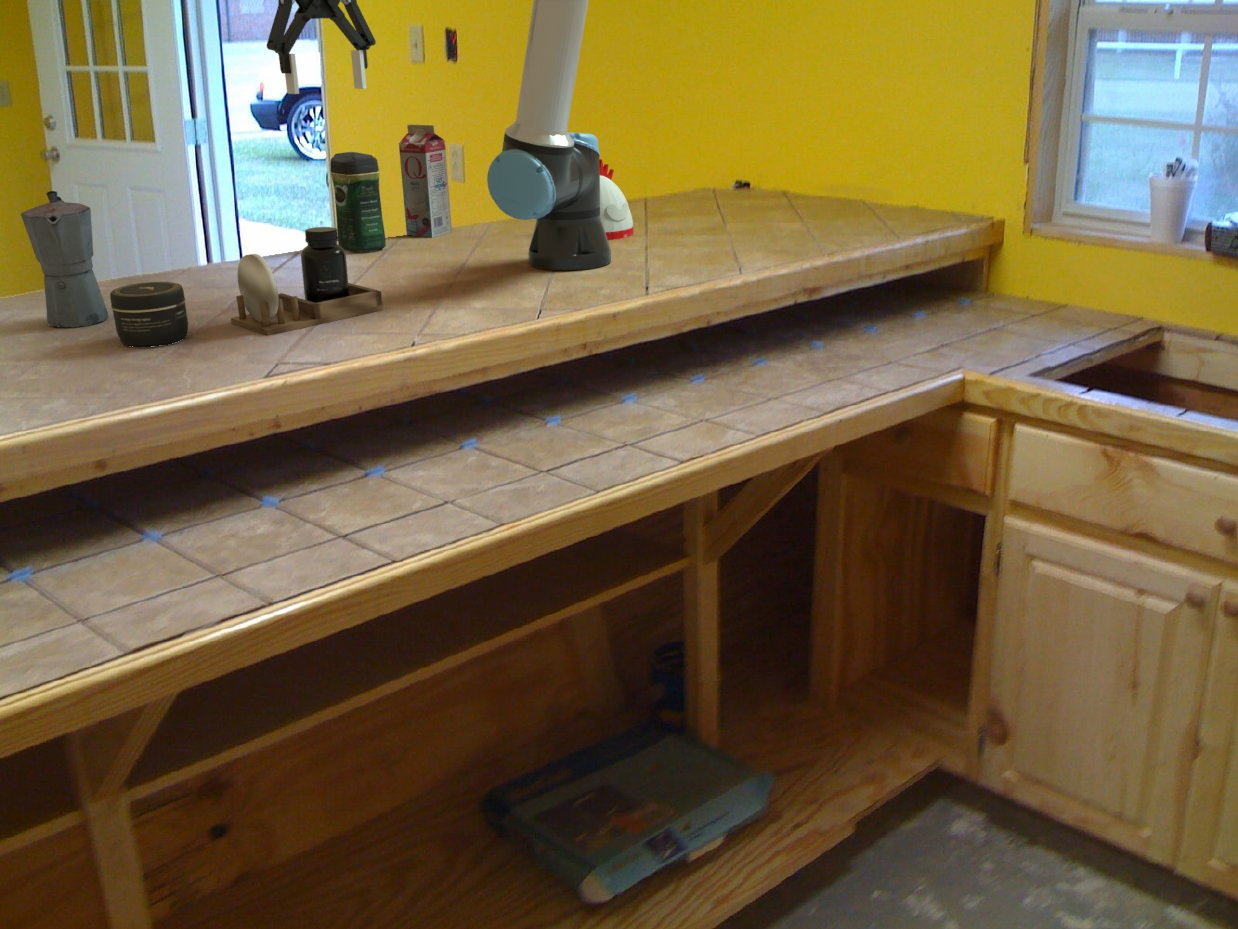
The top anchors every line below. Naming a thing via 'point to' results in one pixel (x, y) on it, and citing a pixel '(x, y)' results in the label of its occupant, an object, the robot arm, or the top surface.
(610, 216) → the kitchen timer
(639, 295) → the top surface
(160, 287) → the jar
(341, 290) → the supplement bottle
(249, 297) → the dish rack
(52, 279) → the moka pot
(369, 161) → the coffee jar
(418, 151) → the juice carton
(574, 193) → the robot arm
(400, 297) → the top surface
